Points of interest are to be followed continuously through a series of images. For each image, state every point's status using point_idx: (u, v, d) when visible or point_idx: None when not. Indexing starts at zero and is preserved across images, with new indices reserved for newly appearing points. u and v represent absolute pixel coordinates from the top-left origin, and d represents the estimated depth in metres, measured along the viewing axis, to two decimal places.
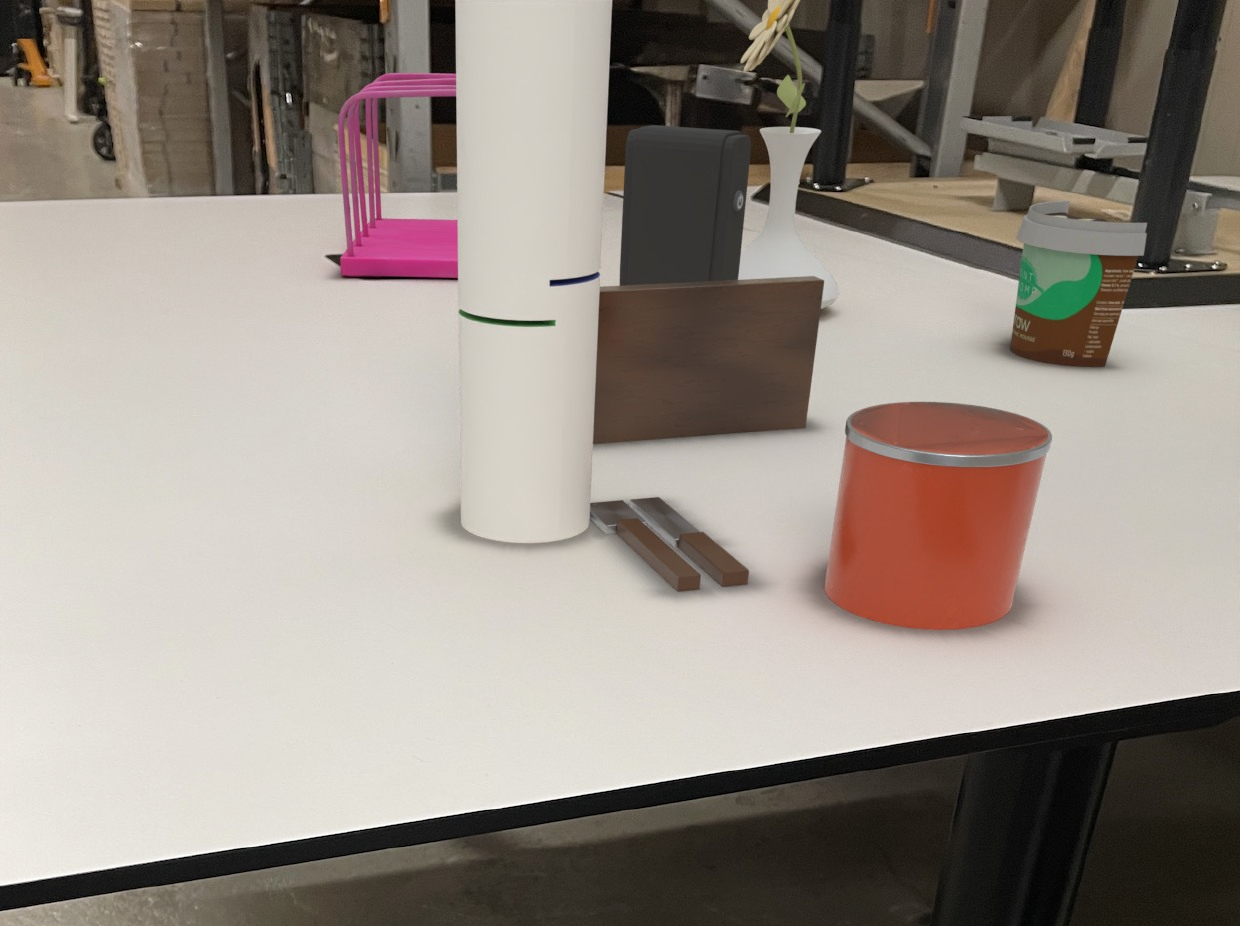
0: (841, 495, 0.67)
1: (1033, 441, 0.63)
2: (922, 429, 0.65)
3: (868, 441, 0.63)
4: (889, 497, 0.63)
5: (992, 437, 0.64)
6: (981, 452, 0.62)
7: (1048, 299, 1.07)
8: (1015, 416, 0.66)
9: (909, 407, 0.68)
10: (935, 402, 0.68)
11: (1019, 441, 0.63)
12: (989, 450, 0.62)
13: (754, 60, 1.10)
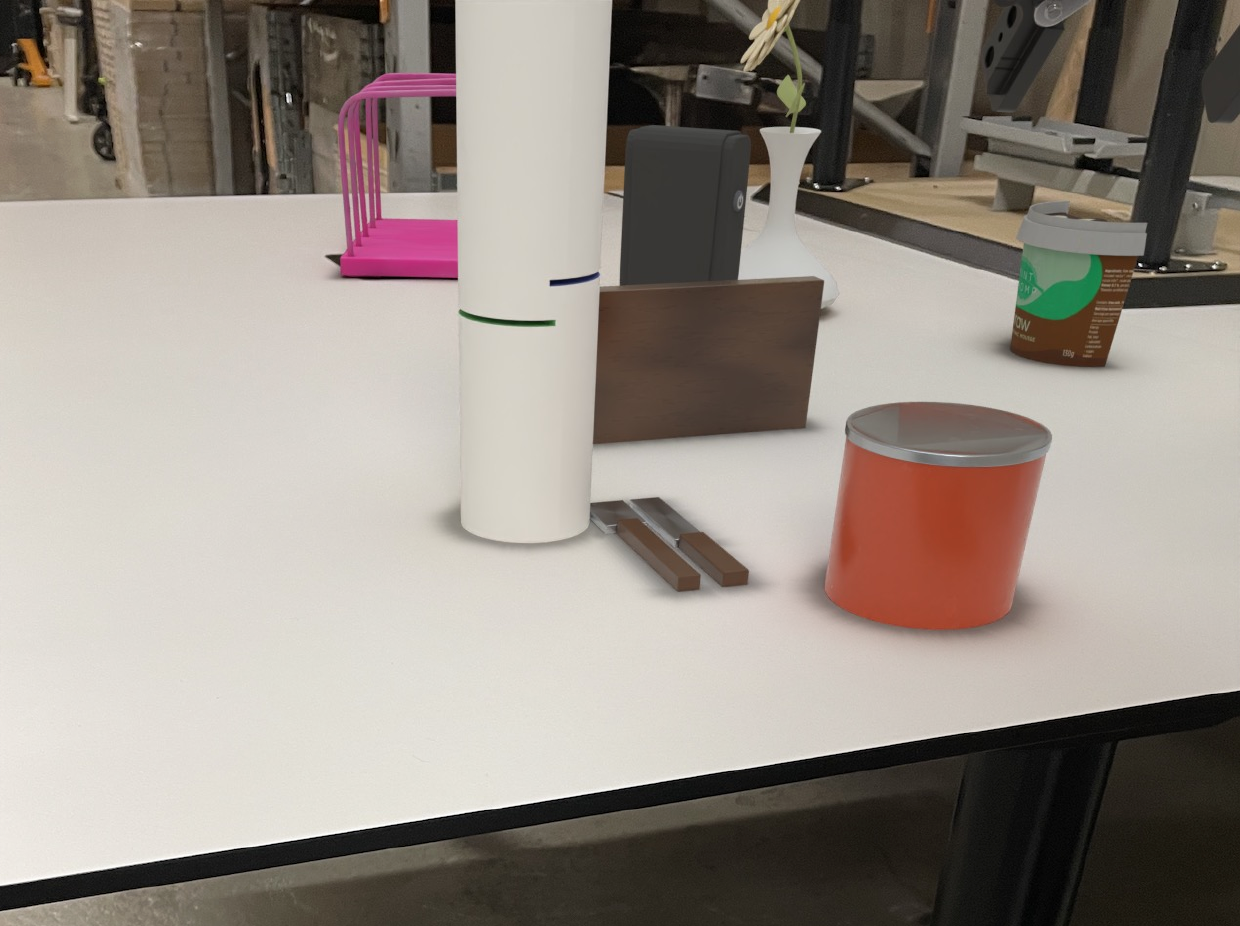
0: (841, 495, 0.67)
1: (1033, 441, 0.63)
2: (922, 429, 0.65)
3: (868, 441, 0.63)
4: (889, 497, 0.63)
5: (992, 437, 0.64)
6: (981, 452, 0.62)
7: (1048, 299, 1.07)
8: (1015, 416, 0.66)
9: (909, 407, 0.68)
10: (935, 402, 0.68)
11: (1019, 441, 0.63)
12: (989, 450, 0.62)
13: (754, 60, 1.10)
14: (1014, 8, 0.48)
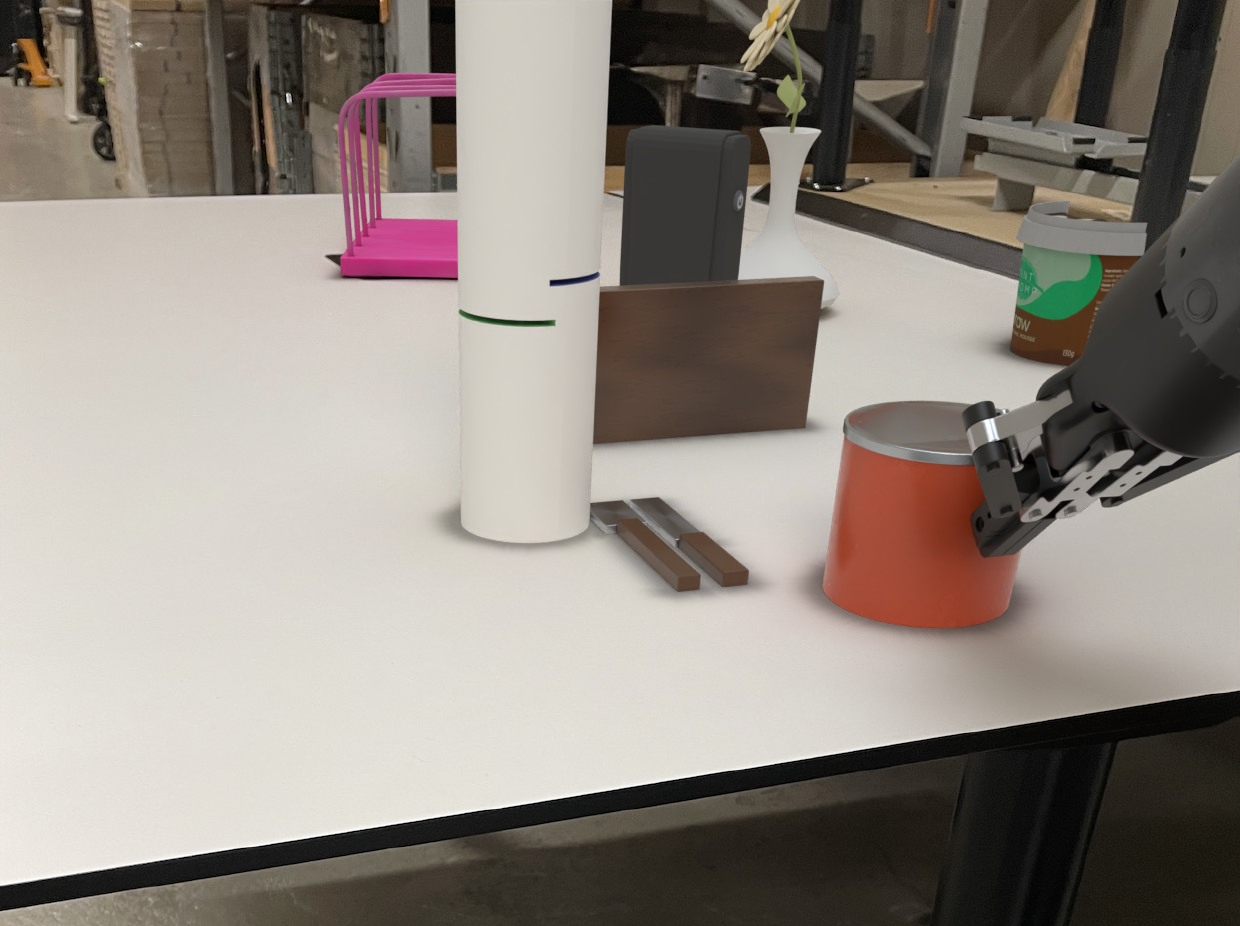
0: (839, 493, 0.67)
1: None
2: (920, 427, 0.65)
3: (865, 439, 0.63)
4: (886, 495, 0.64)
5: None
6: None
7: (1048, 299, 1.07)
8: None
9: (908, 406, 0.68)
10: (934, 401, 0.69)
11: None
12: None
13: (754, 60, 1.10)
14: None
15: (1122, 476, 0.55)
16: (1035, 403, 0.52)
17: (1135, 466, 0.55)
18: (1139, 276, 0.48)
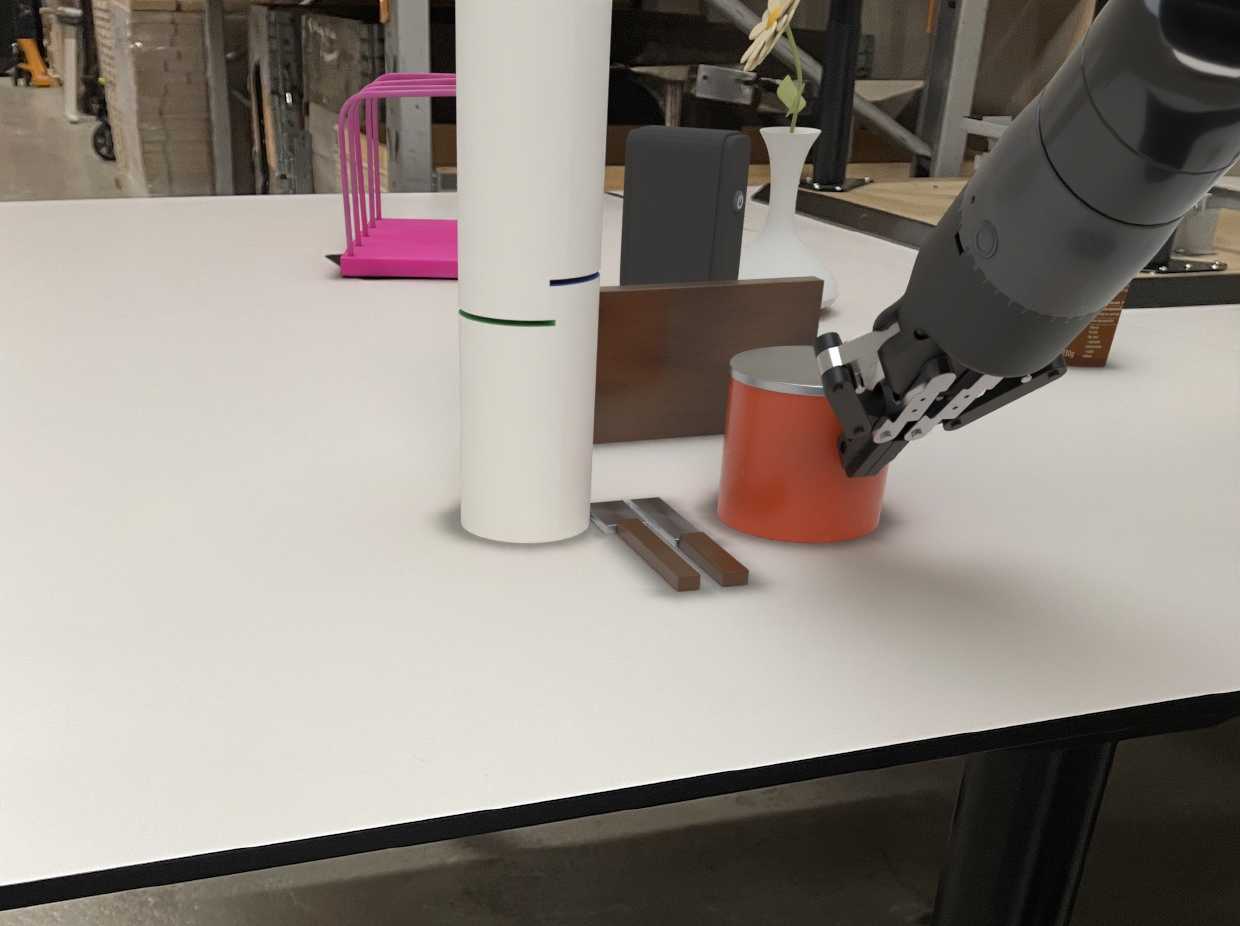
0: (727, 426, 0.76)
1: None
2: (794, 366, 0.74)
3: (746, 376, 0.73)
4: (765, 425, 0.73)
5: None
6: None
7: None
8: None
9: (786, 350, 0.77)
10: (810, 346, 0.78)
11: None
12: None
13: (754, 60, 1.10)
14: None
15: (953, 399, 0.65)
16: (871, 333, 0.62)
17: (962, 390, 0.64)
18: (945, 222, 0.57)
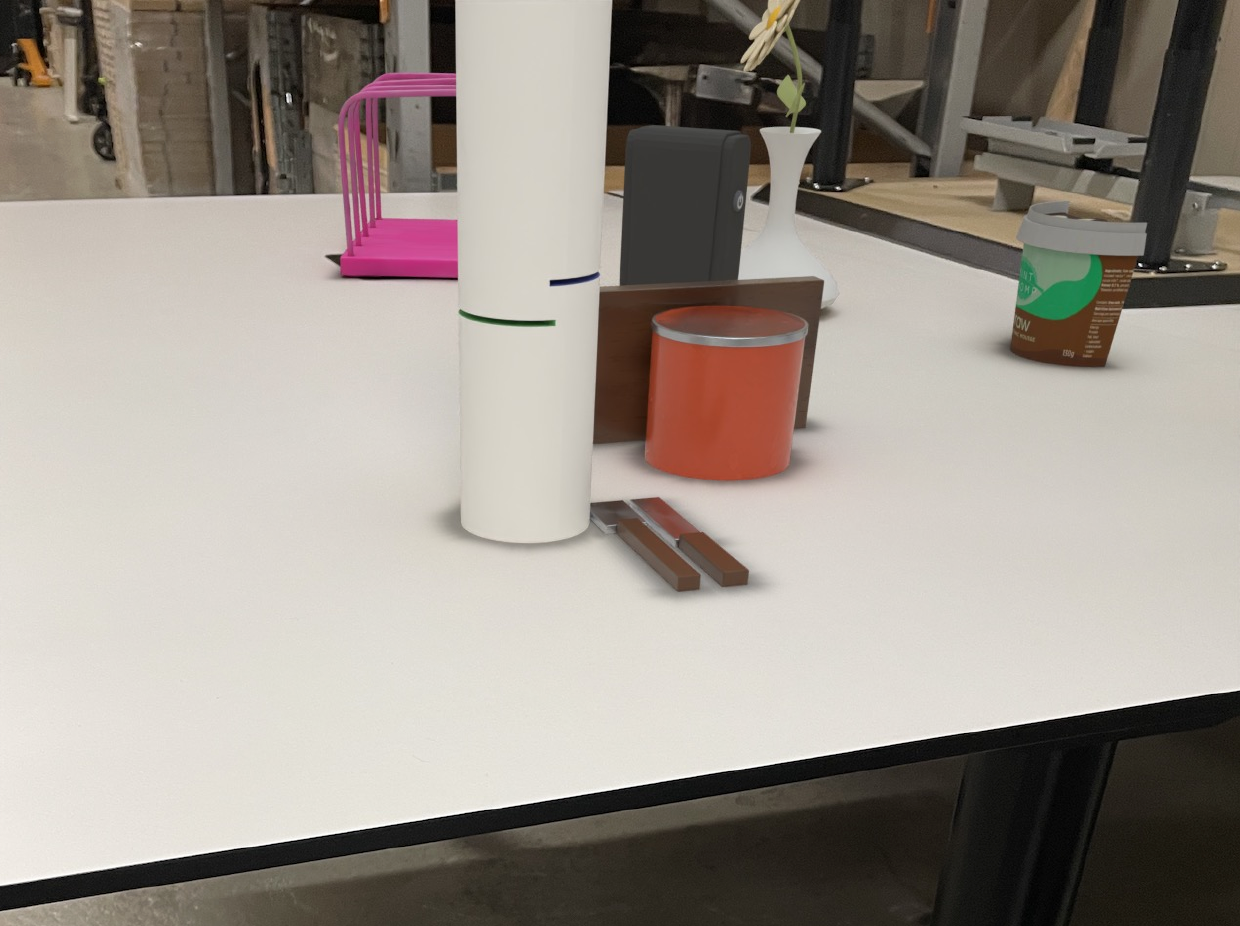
0: (650, 376, 0.85)
1: (791, 329, 0.81)
2: (708, 322, 0.83)
3: (664, 329, 0.82)
4: (681, 373, 0.82)
5: (760, 327, 0.82)
6: (747, 336, 0.80)
7: (1048, 299, 1.07)
8: (786, 314, 0.85)
9: (706, 308, 0.86)
10: (728, 305, 0.87)
11: (780, 329, 0.81)
12: (753, 334, 0.80)
13: (754, 60, 1.10)
14: None
15: None
16: None
17: None
18: None
